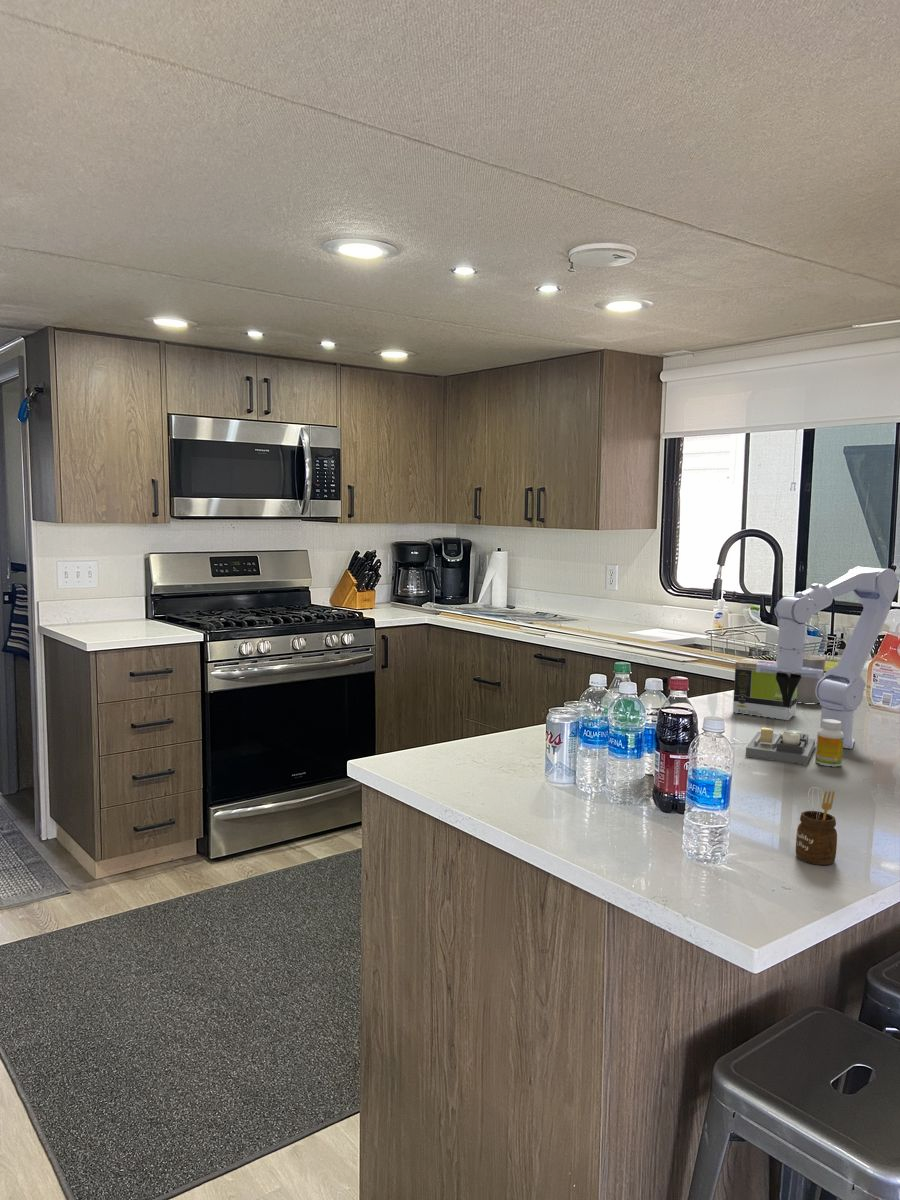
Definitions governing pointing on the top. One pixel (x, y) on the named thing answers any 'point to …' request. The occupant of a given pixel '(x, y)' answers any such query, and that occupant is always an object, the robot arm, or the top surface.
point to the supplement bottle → (829, 743)
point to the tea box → (760, 692)
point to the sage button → (796, 732)
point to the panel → (781, 749)
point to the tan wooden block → (766, 735)
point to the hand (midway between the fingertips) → (786, 705)
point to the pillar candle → (809, 679)
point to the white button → (791, 739)
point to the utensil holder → (817, 834)
